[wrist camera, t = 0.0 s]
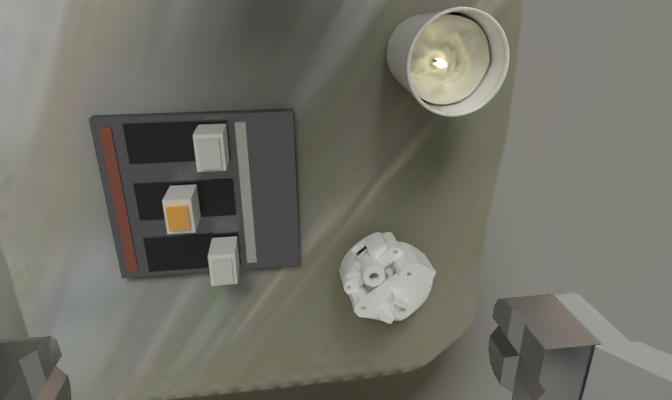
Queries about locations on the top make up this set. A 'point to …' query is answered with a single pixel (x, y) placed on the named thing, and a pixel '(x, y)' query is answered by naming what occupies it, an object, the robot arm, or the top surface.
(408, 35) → the candle holder
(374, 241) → the mechanical part
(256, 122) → the panel
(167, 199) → the breaker mid
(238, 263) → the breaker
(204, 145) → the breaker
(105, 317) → the top surface
